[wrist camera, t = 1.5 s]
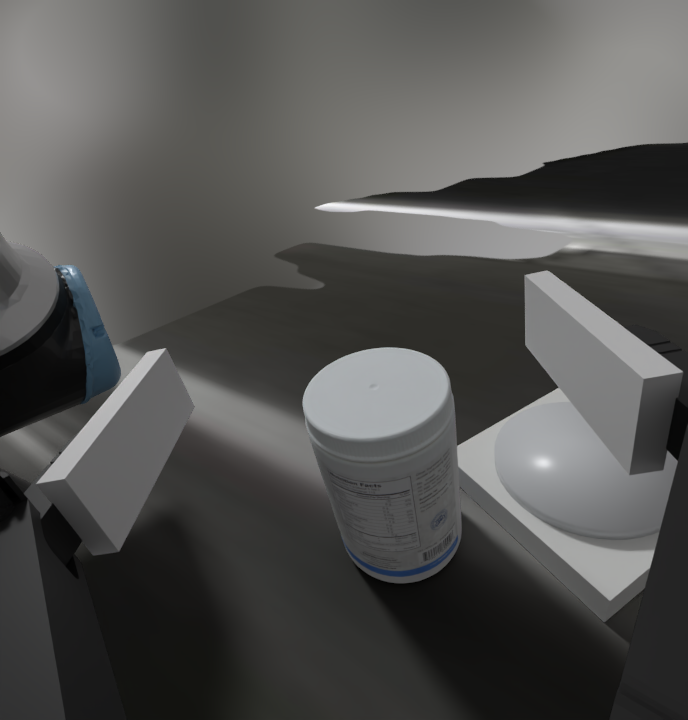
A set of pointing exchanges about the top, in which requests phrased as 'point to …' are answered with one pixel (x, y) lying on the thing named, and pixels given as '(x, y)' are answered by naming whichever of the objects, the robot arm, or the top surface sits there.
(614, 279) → the top surface
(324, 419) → the supplement tub
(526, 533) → the scale
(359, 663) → the top surface
